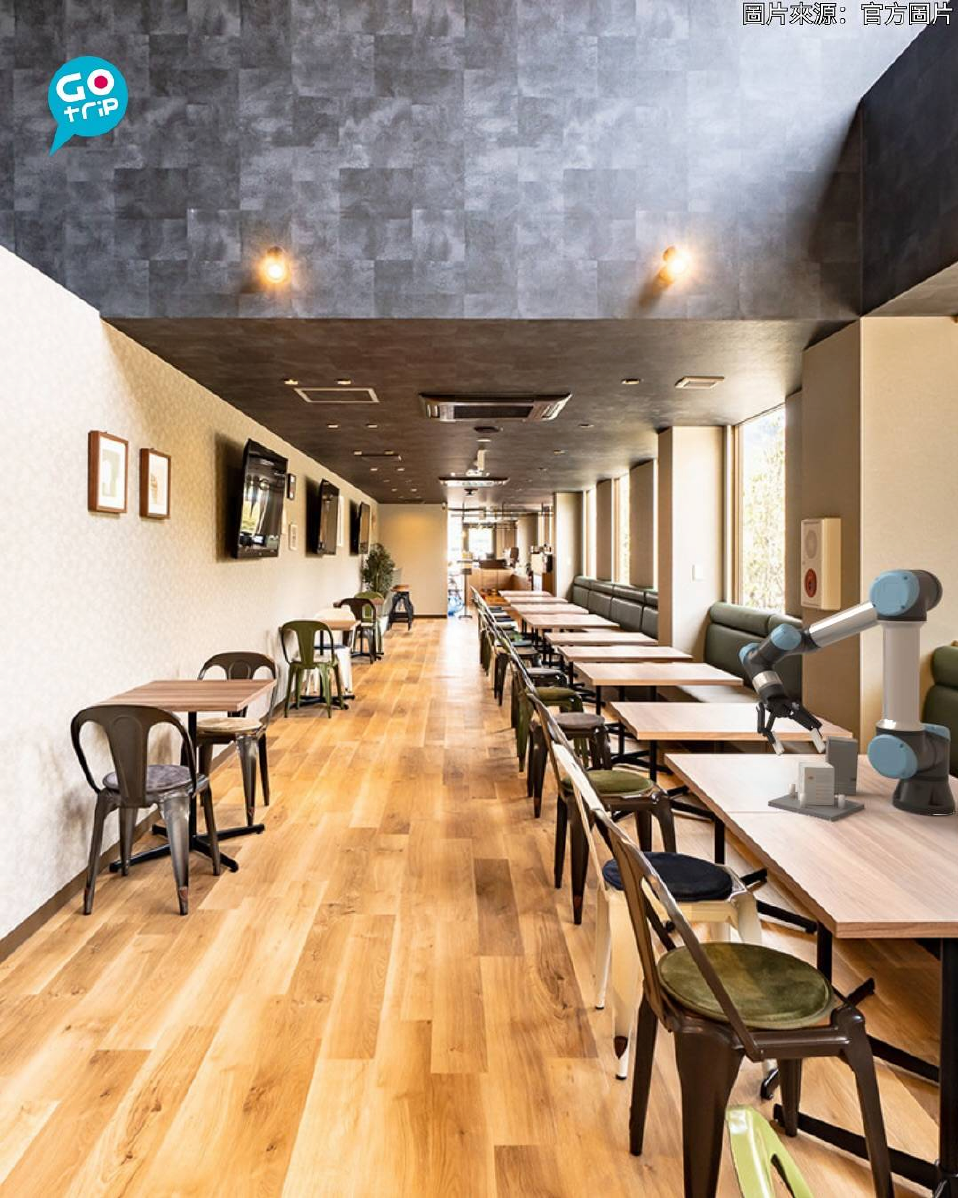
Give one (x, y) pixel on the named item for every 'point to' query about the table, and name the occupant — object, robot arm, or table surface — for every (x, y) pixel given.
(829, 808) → the pin tray
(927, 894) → the table surface
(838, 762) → the skincare box
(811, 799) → the small box
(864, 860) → the table surface
